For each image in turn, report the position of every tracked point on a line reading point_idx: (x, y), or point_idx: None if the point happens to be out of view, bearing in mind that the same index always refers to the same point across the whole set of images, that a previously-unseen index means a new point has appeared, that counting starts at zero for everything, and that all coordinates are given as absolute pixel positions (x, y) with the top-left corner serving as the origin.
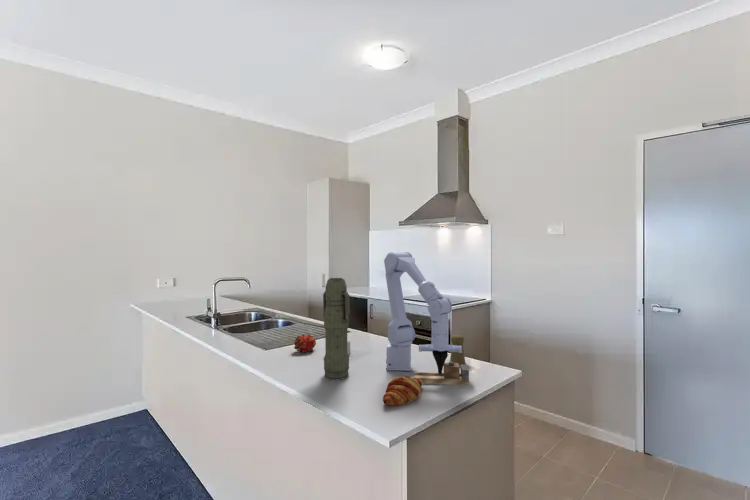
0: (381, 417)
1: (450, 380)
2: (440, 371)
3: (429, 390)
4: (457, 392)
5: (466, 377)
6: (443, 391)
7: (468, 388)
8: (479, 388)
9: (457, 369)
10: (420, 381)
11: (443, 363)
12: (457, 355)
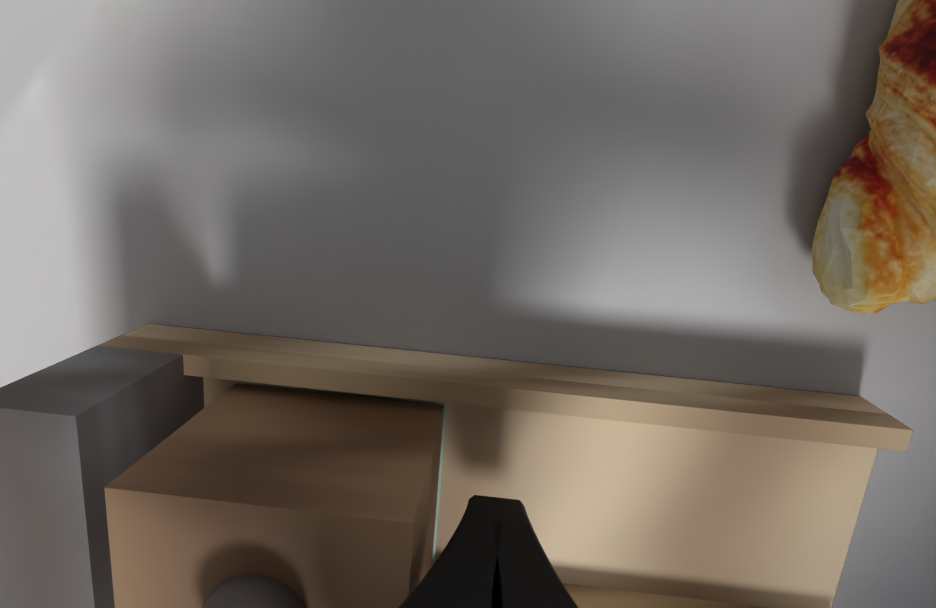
0: None
1: (364, 365)
2: (492, 510)
3: (707, 136)
4: (322, 67)
5: (107, 358)
6: (511, 101)
7: (162, 216)
8: (26, 217)
9: (175, 464)
10: (919, 167)
11: (421, 597)
12: None
